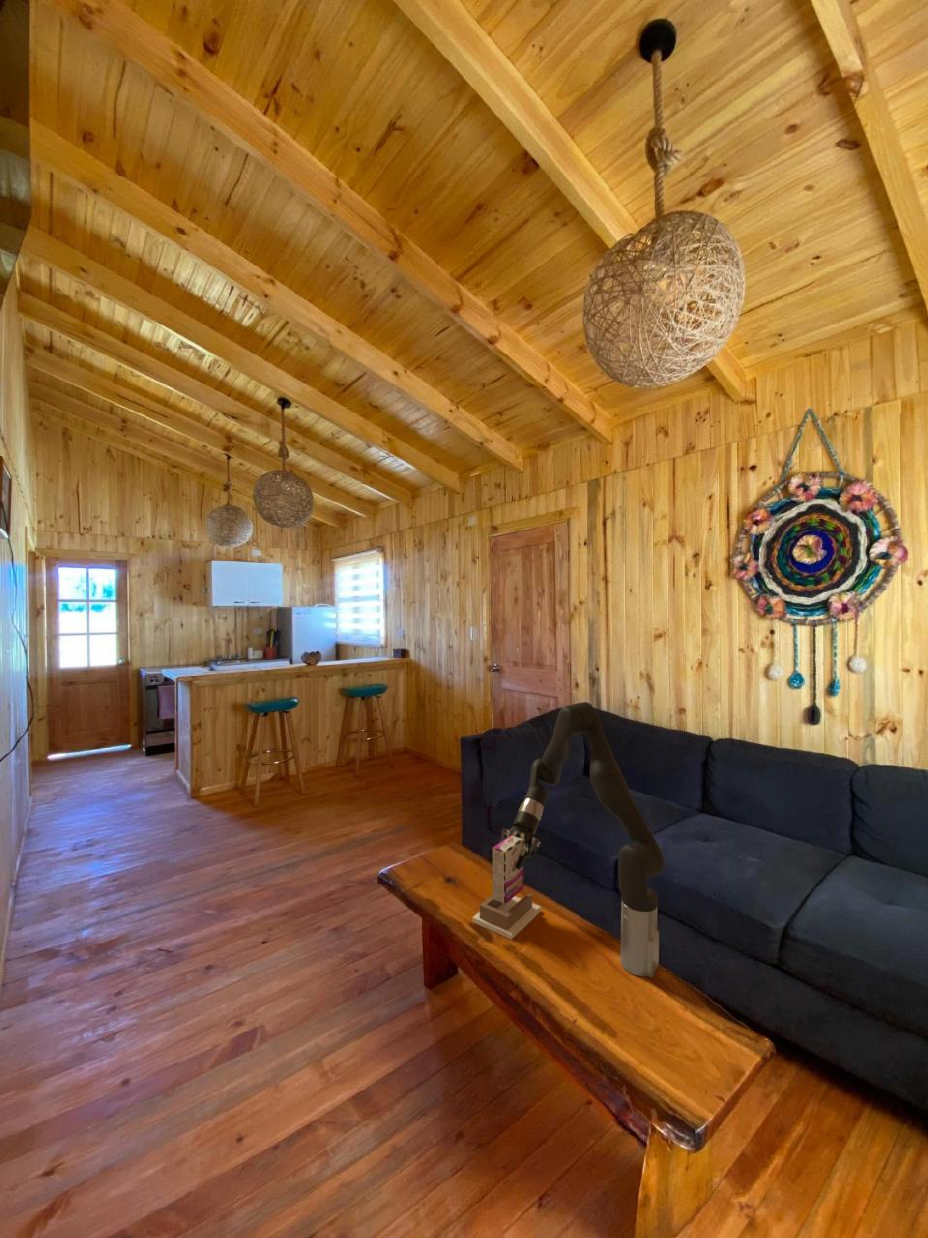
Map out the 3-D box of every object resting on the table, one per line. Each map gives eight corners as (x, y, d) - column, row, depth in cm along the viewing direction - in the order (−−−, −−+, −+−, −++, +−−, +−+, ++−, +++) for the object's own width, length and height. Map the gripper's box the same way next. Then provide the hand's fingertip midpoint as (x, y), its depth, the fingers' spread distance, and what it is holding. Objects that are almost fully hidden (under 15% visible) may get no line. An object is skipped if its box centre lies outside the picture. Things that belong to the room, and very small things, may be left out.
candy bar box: (510, 884, 167) (510, 834, 166) (523, 889, 164) (524, 838, 163) (491, 899, 158) (491, 847, 158) (504, 905, 155) (505, 851, 155)
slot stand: (540, 911, 164) (540, 894, 164) (511, 940, 149) (511, 921, 149) (503, 896, 172) (503, 880, 172) (472, 922, 158) (472, 904, 158)
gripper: (506, 805, 173) (486, 854, 164) (544, 816, 164) (525, 868, 155) (514, 815, 177) (495, 864, 168) (552, 826, 169) (533, 878, 159)
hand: (509, 865), depth 162 cm, fingers closed on candy bar box, 5 cm apart
